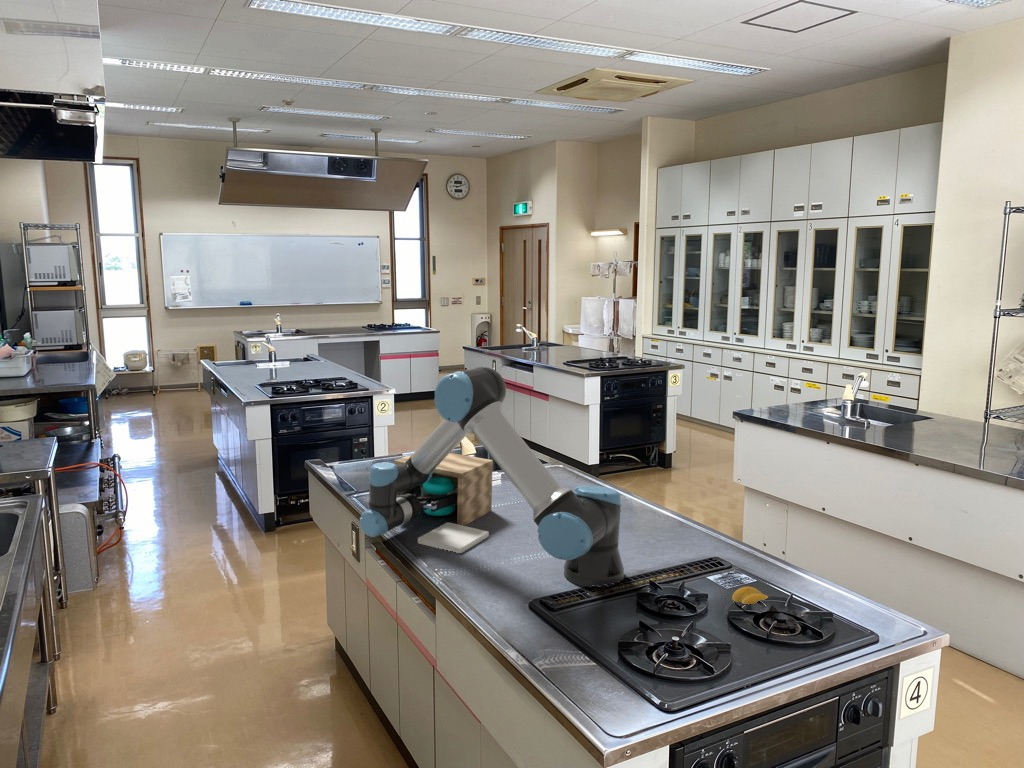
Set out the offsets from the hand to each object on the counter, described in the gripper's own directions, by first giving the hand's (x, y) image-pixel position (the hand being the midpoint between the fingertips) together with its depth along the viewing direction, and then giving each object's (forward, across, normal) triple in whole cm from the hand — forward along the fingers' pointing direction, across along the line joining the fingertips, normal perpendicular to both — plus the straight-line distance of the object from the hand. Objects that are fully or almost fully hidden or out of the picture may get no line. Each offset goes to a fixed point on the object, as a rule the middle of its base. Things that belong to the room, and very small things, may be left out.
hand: (446, 489), depth 233 cm
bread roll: (-16, +97, -8) cm, 99 cm away
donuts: (-4, 0, -6) cm, 8 cm away
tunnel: (-2, 0, -7) cm, 7 cm away
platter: (-20, +16, -7) cm, 26 cm away
